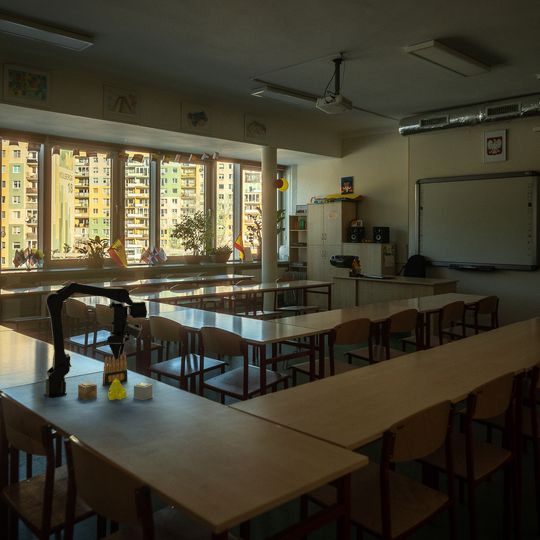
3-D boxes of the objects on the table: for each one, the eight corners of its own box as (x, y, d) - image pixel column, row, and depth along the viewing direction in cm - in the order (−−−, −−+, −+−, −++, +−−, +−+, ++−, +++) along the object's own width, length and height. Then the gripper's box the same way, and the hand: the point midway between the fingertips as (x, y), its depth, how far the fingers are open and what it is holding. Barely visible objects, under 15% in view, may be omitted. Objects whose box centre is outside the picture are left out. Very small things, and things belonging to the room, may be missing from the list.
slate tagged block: (144, 400, 200) (144, 386, 200) (133, 398, 202) (133, 385, 202) (152, 397, 205) (152, 383, 205) (141, 395, 207) (141, 382, 207)
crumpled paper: (129, 395, 206) (130, 376, 206) (117, 401, 198) (117, 380, 198) (117, 393, 208) (117, 374, 208) (104, 399, 200) (104, 379, 200)
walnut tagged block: (84, 400, 198) (84, 386, 198) (78, 397, 202) (78, 383, 201) (96, 397, 202) (97, 384, 202) (90, 394, 205) (90, 381, 205)
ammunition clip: (104, 385, 218) (105, 357, 218) (102, 384, 220) (102, 356, 219) (127, 381, 226) (128, 353, 225) (125, 380, 227) (125, 353, 227)
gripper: (136, 322, 205) (135, 362, 206) (143, 316, 223) (142, 352, 224) (107, 321, 204) (106, 361, 205) (116, 315, 222) (115, 351, 223)
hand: (119, 356), depth 214 cm, fingers open, 9 cm apart
